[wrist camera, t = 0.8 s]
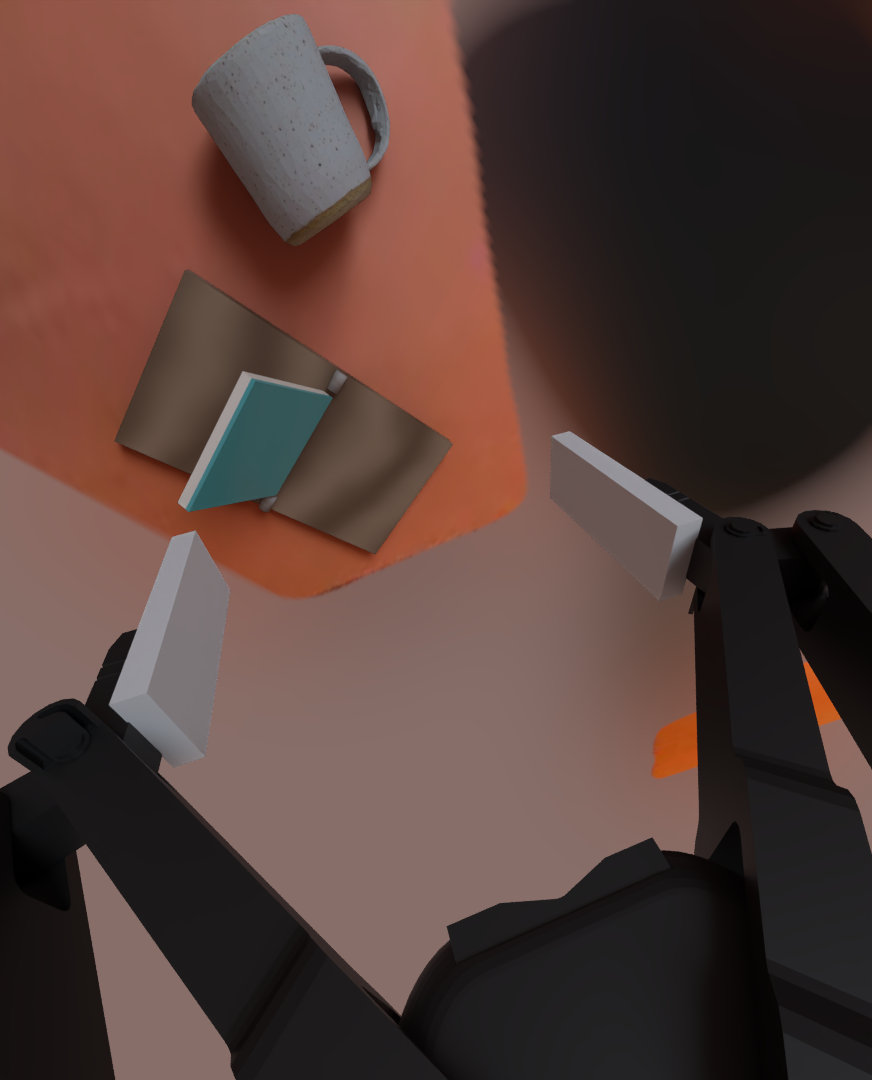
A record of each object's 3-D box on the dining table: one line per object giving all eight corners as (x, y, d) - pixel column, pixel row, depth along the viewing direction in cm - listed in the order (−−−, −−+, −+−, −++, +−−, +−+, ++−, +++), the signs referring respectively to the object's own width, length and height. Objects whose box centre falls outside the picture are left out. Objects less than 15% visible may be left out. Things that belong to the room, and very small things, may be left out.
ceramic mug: (290, 256, 32) (290, 254, 26) (200, 121, 27) (173, 78, 21) (409, 166, 31) (439, 142, 25) (337, 11, 26) (353, -68, 20)
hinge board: (120, 434, 35) (109, 445, 33) (189, 269, 31) (181, 270, 29) (373, 546, 47) (376, 559, 45) (448, 439, 43) (455, 448, 41)
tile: (177, 502, 29) (188, 511, 29) (242, 371, 26) (255, 381, 26) (267, 488, 38) (276, 495, 38) (323, 390, 35) (332, 398, 35)
